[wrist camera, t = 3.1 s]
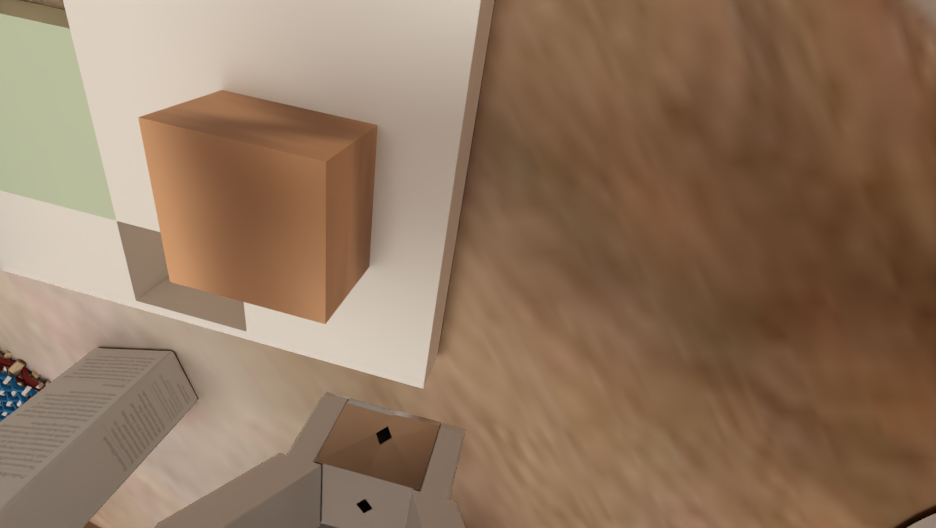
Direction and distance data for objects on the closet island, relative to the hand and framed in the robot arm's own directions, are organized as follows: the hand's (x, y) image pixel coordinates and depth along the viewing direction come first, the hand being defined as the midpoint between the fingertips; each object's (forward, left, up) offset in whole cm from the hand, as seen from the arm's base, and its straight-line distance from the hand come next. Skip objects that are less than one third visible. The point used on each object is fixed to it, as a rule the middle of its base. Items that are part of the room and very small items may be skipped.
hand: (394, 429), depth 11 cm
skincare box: (+19, +17, -13) cm, 29 cm away
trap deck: (+13, 0, -12) cm, 18 cm away
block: (+7, 0, -10) cm, 12 cm away
